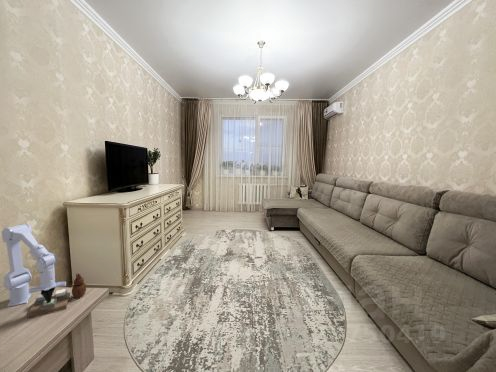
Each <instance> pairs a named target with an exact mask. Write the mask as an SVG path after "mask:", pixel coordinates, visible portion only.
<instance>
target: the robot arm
mask: <svg viewBox="0 0 496 372" xmlns="http://www.w3.org/2000/svg"><path fill="white" fill-rule="evenodd" d="M32 232H33V230H32V226H31V225H30V223H24V224H20V225H13V226H8V227H4V228H3V229H2V230H1V236H2V237H1V238H2V242H3V243H6V244H5V245H6V251H7V257H8V264H9V270H10V271H8V272H7V273H6V274H5V275H4V276H3V287H4V289H6V290H7V291H8V292H9V303H8V304H7V306H6V307H7V308H8V307H9V308H10V307H13V306H17V305H22V304H27V303H28V301H29V300H30V299H31V297H32V295H33V294H32V293H37V292H40V294H41V295H43V297H44V298H45V299H46V302H47V303H49V302H51V298H52V296H53V295H54V292H55V289H56V288H61V287H66V286H67V281H66V280H65V281H58V282H56V271H55V270H56V269H55V264H56V263H57V262H58V258H57V256H56V254H55V253H52V252H49V250H47V248H46V247H45V246H44V245H43V244H39V243H38V242H37V240H36V239H35V237H34V236H33V234H32ZM21 242H22V243H24V245H25V246H27V247H28V248H29V254H30V255H31V256H32V257H33V258H34V259H35V261H36V262H35V264H36V267H37V269H38V272H39V277H40V278H39V281H40V285H38V286H34V287H30V285H29V284H30V282H31V281H32V277H33V276H32V273H31V272H30V269H28V268H25V267H24V261H23V256H22V255H23V254H22V247H21Z"/></svg>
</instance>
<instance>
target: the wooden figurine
mask: <svg viewBox="0 0 496 372" xmlns="http://www.w3.org/2000/svg"><path fill="white" fill-rule="evenodd" d="M75 276H76V278H75V279H74V280H73V286H72V288H71V295H72V297H73V298H75V299H80V298H82V297H83V296H85V294H86V291H87V284H86V283H85V278H84V277H83V276H81V274H80V273H76V274H75Z"/></svg>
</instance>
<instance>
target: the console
mask: <svg viewBox="0 0 496 372" xmlns="http://www.w3.org/2000/svg"><path fill="white" fill-rule="evenodd" d="M70 297H71V292H68V290H67V289H66V293H65V295H62V296H57V297H55V294H53V295H52V298H51V299H55V302H54V304H50V305H46V306H43V304H44V302H45V301H46V299H44V300H39V301H37V298H36V299H35V301H34V303H33V304H32V307H31V308H30V310H29V311H28V314H27V317H28V319H30V318H35V317H39V316H42V315H47V314H51V313H54V312H59V311H63V310H67V308H68V304H69V300H70Z"/></svg>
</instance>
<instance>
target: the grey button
mask: <svg viewBox="0 0 496 372" xmlns="http://www.w3.org/2000/svg"><path fill="white" fill-rule="evenodd" d="M36 299H37V301H39V300H44V299H45V298H44V297H43V295H41V293H39V294H38V295H37V297H36Z"/></svg>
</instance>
